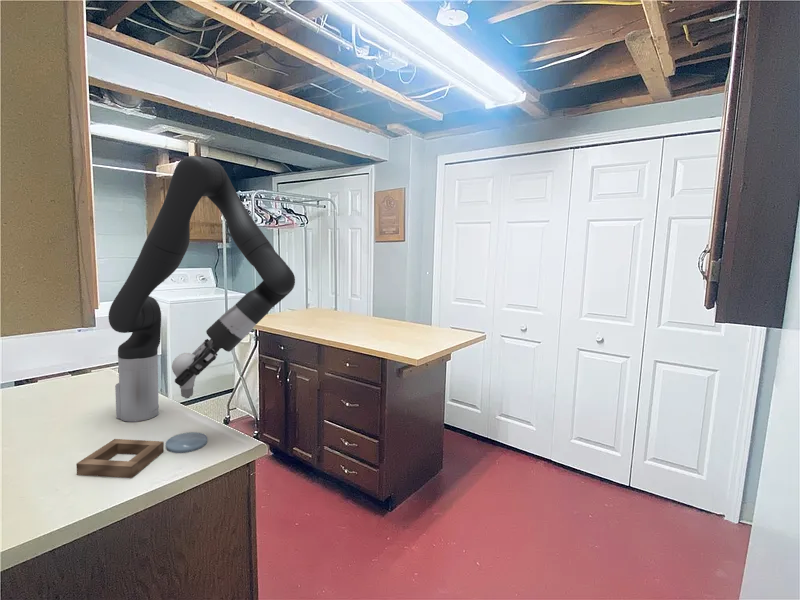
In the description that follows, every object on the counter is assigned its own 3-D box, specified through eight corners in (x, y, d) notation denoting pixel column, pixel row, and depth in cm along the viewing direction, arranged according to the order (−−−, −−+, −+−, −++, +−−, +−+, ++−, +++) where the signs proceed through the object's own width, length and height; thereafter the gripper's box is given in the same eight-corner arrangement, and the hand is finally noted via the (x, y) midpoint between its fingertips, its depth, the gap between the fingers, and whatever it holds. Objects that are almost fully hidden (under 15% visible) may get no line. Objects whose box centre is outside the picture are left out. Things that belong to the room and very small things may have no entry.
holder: (76, 475, 88) (76, 463, 88) (114, 449, 100) (114, 438, 99) (132, 478, 88) (131, 466, 88) (163, 451, 99) (163, 441, 99)
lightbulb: (206, 397, 103) (205, 352, 102) (182, 404, 98) (181, 357, 97) (191, 392, 106) (190, 349, 105) (167, 399, 101) (165, 353, 100)
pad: (157, 451, 99) (157, 447, 99) (178, 435, 108) (178, 431, 108) (196, 454, 99) (196, 449, 99) (213, 437, 108) (213, 433, 108)
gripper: (218, 313, 110) (167, 361, 106) (221, 322, 97) (162, 378, 93) (240, 332, 112) (191, 380, 109) (246, 344, 99) (190, 399, 96)
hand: (178, 379), depth 101 cm, fingers closed on lightbulb, 6 cm apart
